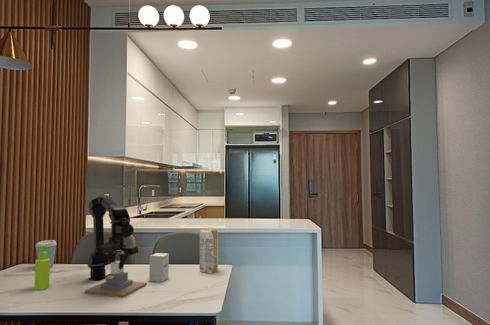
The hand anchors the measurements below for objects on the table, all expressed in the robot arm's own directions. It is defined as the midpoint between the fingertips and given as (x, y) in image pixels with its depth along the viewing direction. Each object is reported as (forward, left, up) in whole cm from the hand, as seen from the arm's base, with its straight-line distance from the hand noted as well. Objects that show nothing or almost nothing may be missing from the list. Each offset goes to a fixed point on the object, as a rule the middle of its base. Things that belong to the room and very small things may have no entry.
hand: (117, 268), depth 162 cm
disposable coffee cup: (-63, +22, -10) cm, 67 cm away
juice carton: (+29, +41, -10) cm, 51 cm away
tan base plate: (0, 0, -9) cm, 9 cm away
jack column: (0, 0, -7) cm, 7 cm away
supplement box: (+11, +19, -10) cm, 24 cm away
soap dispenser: (-34, -8, -10) cm, 36 cm away
